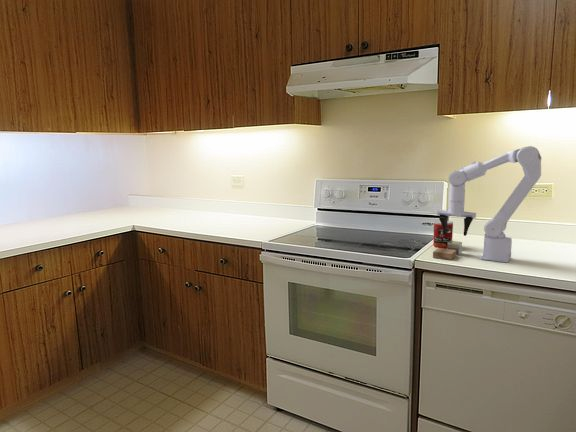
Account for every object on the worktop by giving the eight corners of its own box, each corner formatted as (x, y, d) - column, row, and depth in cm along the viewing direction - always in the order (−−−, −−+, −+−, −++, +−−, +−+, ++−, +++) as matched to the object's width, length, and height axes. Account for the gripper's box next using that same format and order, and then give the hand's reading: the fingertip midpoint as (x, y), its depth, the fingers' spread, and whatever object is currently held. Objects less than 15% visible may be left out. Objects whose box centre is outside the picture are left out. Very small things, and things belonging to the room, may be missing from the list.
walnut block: (456, 256, 166) (456, 250, 165) (451, 260, 160) (451, 254, 160) (438, 253, 170) (438, 247, 169) (432, 257, 164) (433, 251, 164)
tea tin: (461, 253, 170) (462, 241, 169) (458, 256, 166) (459, 244, 165) (450, 251, 173) (450, 240, 172) (446, 254, 169) (447, 242, 168)
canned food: (431, 247, 180) (432, 222, 178) (434, 243, 187) (435, 219, 185) (450, 249, 176) (451, 223, 175) (453, 245, 183) (454, 220, 182)
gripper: (478, 200, 165) (476, 234, 167) (441, 198, 173) (439, 230, 175) (474, 203, 159) (472, 237, 161) (435, 200, 167) (434, 233, 170)
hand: (455, 234), depth 168 cm, fingers open, 7 cm apart
